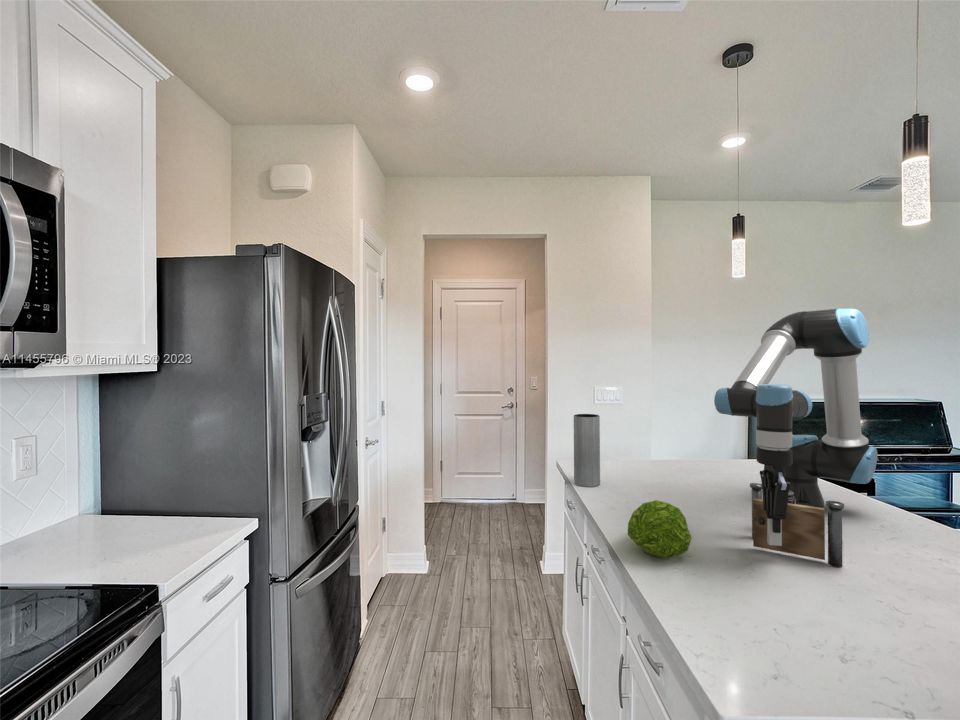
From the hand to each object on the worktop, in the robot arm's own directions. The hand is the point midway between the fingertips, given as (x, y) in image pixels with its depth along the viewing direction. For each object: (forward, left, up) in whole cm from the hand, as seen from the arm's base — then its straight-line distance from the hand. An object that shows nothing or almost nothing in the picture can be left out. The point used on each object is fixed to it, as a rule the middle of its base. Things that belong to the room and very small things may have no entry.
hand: (774, 544), depth 118 cm
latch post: (-10, -11, -4) cm, 15 cm away
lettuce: (+17, -20, -4) cm, 26 cm away
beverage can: (-19, -10, -4) cm, 22 cm away
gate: (-5, 0, -3) cm, 6 cm away
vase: (-7, -78, -4) cm, 78 cm away
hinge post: (-10, +8, -4) cm, 14 cm away
